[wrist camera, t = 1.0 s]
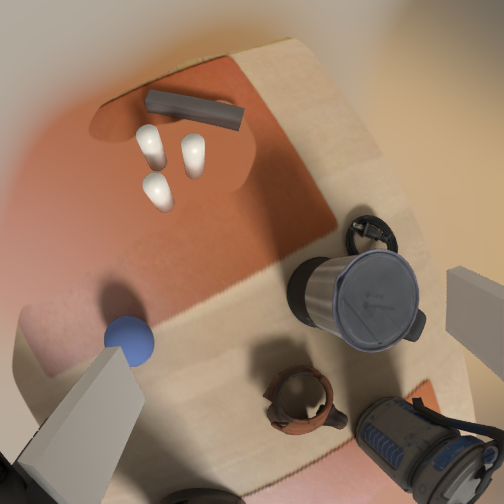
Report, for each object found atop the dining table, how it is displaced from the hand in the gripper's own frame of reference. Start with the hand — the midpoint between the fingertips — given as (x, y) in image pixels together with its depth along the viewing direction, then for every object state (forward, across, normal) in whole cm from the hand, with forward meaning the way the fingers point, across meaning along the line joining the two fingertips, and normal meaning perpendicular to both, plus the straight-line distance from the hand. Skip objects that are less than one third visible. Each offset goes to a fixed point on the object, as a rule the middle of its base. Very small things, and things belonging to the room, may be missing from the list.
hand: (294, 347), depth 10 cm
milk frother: (+28, -9, +7) cm, 31 cm away
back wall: (+31, +5, -18) cm, 36 cm away
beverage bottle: (+23, -12, +32) cm, 41 cm away
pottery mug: (+23, 0, +22) cm, 32 cm away
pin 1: (+28, +11, -12) cm, 33 cm away
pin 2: (+29, +7, -10) cm, 31 cm away
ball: (+19, +18, +7) cm, 27 cm away
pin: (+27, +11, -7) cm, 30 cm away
